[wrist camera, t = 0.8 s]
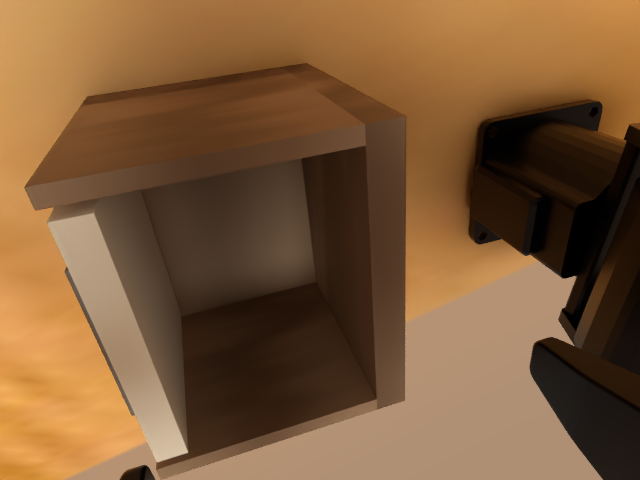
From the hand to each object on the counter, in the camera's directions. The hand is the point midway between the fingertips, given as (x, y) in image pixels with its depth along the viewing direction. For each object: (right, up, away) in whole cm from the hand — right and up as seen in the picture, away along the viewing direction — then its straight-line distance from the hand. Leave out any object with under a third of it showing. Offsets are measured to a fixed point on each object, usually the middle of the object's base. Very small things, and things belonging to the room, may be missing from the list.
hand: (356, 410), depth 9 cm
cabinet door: (-8, +4, +7) cm, 11 cm away
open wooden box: (-5, +5, +10) cm, 12 cm away
